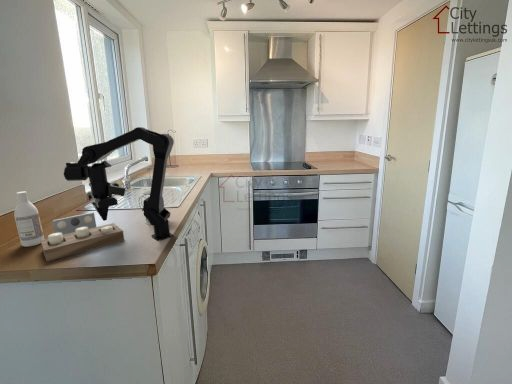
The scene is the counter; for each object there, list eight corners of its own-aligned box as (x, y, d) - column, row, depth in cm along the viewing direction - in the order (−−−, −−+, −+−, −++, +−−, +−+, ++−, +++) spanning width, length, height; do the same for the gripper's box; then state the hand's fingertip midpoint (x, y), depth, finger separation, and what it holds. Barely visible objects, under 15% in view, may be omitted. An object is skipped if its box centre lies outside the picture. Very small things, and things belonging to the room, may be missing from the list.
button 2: (115, 237, 107) (113, 227, 106) (104, 240, 104) (102, 230, 103) (112, 234, 109) (110, 225, 109) (101, 237, 107) (99, 227, 106)
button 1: (65, 245, 96) (62, 234, 95) (51, 249, 93) (48, 237, 92) (63, 242, 99) (61, 231, 98) (49, 245, 96) (47, 234, 95)
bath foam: (46, 242, 105) (35, 191, 101) (23, 248, 100) (10, 195, 96) (42, 238, 110) (31, 189, 105) (20, 243, 105) (7, 192, 100)
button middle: (91, 238, 101) (89, 228, 100) (78, 242, 98) (76, 231, 97) (88, 235, 104) (86, 225, 103) (76, 238, 101) (74, 228, 100)
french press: (159, 225, 120) (152, 168, 115) (135, 224, 123) (128, 168, 117) (170, 218, 130) (165, 165, 124) (148, 217, 132) (141, 165, 126)
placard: (97, 231, 116) (94, 212, 114) (56, 240, 107) (52, 221, 105) (96, 230, 117) (93, 212, 115) (56, 239, 108) (52, 220, 106)
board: (124, 240, 105) (122, 230, 104) (46, 261, 90) (44, 250, 89) (115, 232, 114) (113, 223, 113) (42, 250, 98) (40, 239, 97)
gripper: (129, 179, 100) (135, 220, 103) (114, 174, 114) (119, 210, 117) (95, 184, 93) (102, 228, 96) (83, 178, 106) (90, 216, 110)
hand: (104, 220), depth 105 cm, fingers closed
